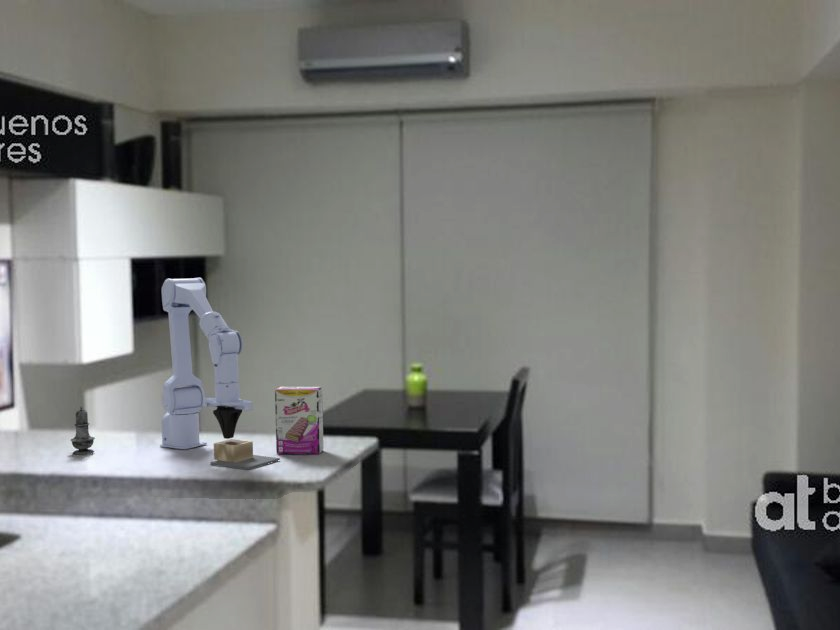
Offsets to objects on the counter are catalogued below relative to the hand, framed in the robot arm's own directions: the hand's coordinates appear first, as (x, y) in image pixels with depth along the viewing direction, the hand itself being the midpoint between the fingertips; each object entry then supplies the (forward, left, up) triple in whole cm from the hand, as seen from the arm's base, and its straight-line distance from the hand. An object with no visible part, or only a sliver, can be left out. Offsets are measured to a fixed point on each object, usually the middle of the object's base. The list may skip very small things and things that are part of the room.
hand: (228, 437), depth 228 cm
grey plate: (+5, 0, -6) cm, 8 cm away
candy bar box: (+10, +15, -6) cm, 19 cm away
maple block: (-2, 0, -3) cm, 4 cm away
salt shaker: (-41, -10, -6) cm, 43 cm away
